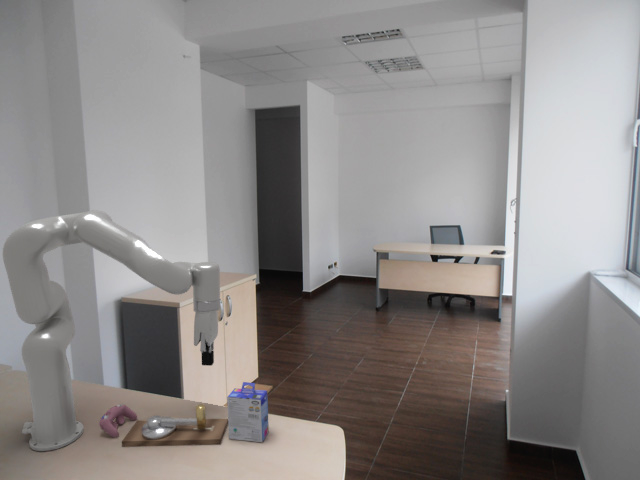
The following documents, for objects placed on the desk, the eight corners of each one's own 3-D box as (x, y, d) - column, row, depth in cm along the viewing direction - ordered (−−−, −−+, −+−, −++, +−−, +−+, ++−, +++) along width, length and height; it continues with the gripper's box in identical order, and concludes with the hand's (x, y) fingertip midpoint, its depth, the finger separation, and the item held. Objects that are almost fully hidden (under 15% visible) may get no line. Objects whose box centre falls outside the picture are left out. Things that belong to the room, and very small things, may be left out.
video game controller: (128, 422, 124) (116, 402, 124) (139, 417, 123) (128, 396, 123) (105, 443, 114) (92, 421, 114) (118, 437, 113) (105, 415, 113)
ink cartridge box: (270, 431, 116) (267, 381, 114) (263, 443, 110) (261, 391, 108) (236, 427, 118) (233, 379, 116) (228, 439, 112) (225, 388, 110)
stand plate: (122, 446, 110) (121, 441, 110) (137, 425, 120) (137, 420, 119) (220, 444, 110) (220, 438, 110) (228, 423, 120) (228, 418, 119)
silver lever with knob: (135, 439, 110) (133, 415, 109) (150, 419, 119) (148, 397, 118) (200, 439, 110) (199, 415, 109) (211, 420, 118) (209, 397, 117)
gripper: (201, 297, 130) (202, 354, 132) (185, 312, 115) (187, 375, 117) (225, 298, 130) (226, 354, 132) (213, 312, 115) (213, 375, 117)
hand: (207, 364), depth 125 cm, fingers closed
